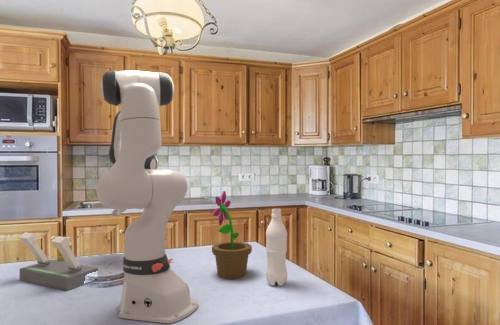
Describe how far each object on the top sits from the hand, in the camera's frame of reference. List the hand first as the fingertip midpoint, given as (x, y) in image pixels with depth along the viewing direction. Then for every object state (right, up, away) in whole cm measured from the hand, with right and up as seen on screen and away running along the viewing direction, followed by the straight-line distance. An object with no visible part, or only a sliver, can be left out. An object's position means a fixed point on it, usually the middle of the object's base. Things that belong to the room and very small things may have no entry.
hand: (115, 215), depth 136 cm
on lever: (-22, -15, -9) cm, 28 cm away
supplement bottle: (-24, -20, +9) cm, 33 cm away
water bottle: (+61, -21, -17) cm, 66 cm away
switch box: (-15, -21, -13) cm, 28 cm away
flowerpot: (+45, -21, -8) cm, 50 cm away
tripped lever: (-8, -15, -16) cm, 23 cm away
